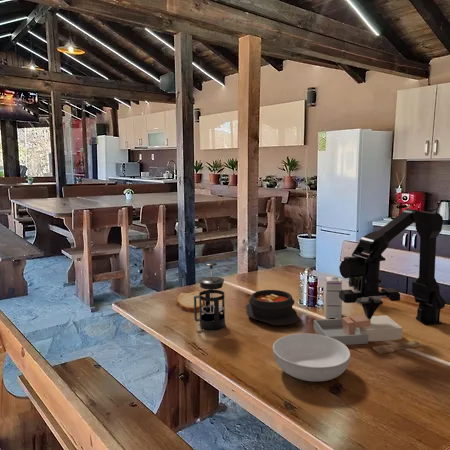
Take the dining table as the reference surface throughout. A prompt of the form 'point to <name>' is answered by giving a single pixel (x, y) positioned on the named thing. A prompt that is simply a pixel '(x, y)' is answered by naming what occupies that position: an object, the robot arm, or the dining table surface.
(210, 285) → the french press
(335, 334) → the tray
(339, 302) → the syrup box
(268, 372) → the dining table surface
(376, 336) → the white flat box
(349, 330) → the tile
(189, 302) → the bread slice
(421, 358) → the dining table surface
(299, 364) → the serving bowl
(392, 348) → the wooden spatula
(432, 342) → the dining table surface
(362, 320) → the tile
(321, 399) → the dining table surface
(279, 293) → the casserole
